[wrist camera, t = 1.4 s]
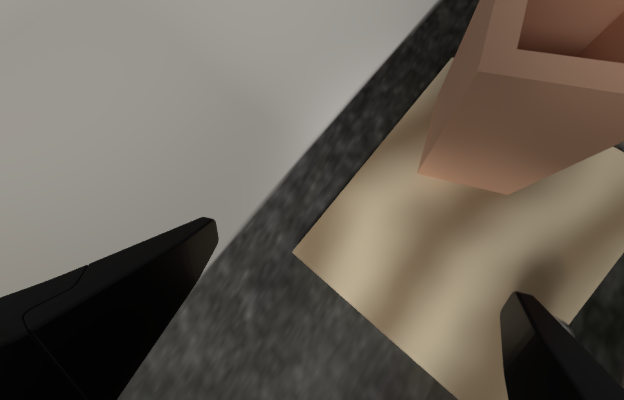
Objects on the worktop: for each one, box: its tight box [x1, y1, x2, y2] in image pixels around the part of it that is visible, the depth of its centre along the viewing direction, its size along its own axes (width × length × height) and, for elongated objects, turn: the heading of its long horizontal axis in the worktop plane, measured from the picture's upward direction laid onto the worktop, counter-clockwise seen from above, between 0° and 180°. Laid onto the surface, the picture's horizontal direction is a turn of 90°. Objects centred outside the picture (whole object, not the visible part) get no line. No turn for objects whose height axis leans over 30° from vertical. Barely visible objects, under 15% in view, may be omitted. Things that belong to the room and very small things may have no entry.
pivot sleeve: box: [417, 0, 624, 195], centre depth 15 cm, size 6×6×12 cm
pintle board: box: [292, 57, 624, 400], centre depth 19 cm, size 16×19×5 cm
